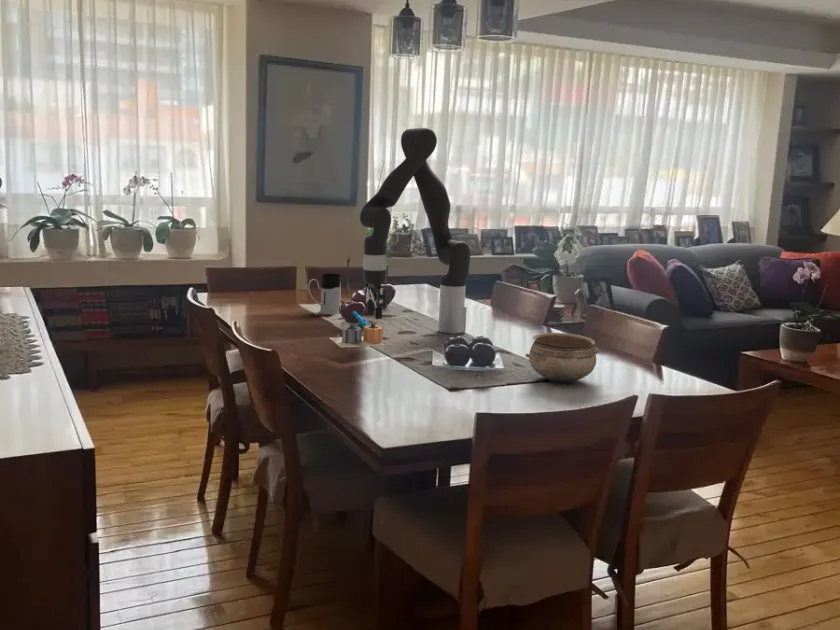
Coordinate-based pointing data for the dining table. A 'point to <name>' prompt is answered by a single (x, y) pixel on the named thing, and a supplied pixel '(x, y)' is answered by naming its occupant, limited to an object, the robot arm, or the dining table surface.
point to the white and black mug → (329, 293)
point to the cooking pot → (562, 356)
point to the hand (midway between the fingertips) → (374, 316)
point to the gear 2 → (372, 334)
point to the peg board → (339, 342)
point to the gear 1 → (352, 335)
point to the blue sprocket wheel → (362, 320)
